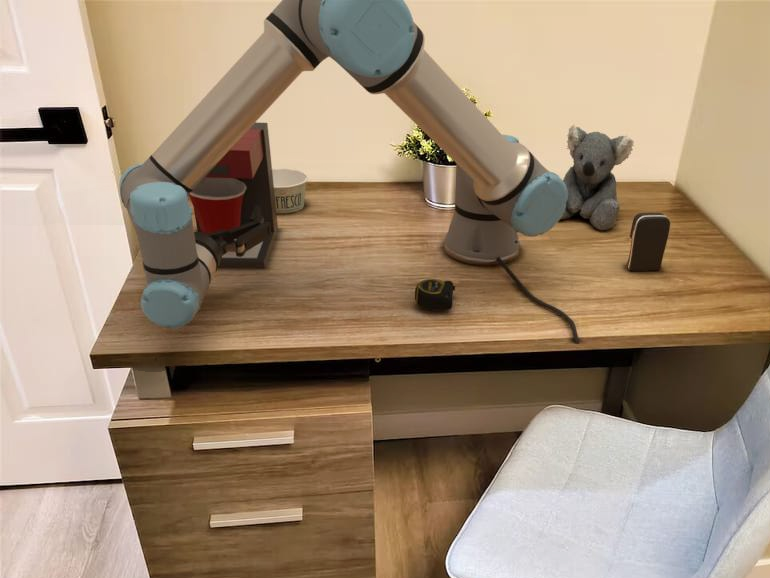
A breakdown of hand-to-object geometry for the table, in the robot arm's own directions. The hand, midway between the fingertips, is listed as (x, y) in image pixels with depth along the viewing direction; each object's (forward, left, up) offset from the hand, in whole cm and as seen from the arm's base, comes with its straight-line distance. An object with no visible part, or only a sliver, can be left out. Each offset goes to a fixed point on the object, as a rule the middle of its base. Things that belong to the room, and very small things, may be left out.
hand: (220, 211), depth 134 cm
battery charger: (-41, -70, -10) cm, 82 cm away
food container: (+21, -20, -10) cm, 30 cm away
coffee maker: (+5, -3, -10) cm, 11 cm away
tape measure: (-34, -26, -10) cm, 44 cm away
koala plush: (-14, -79, -10) cm, 81 cm away
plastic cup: (+3, -1, -8) cm, 9 cm away
